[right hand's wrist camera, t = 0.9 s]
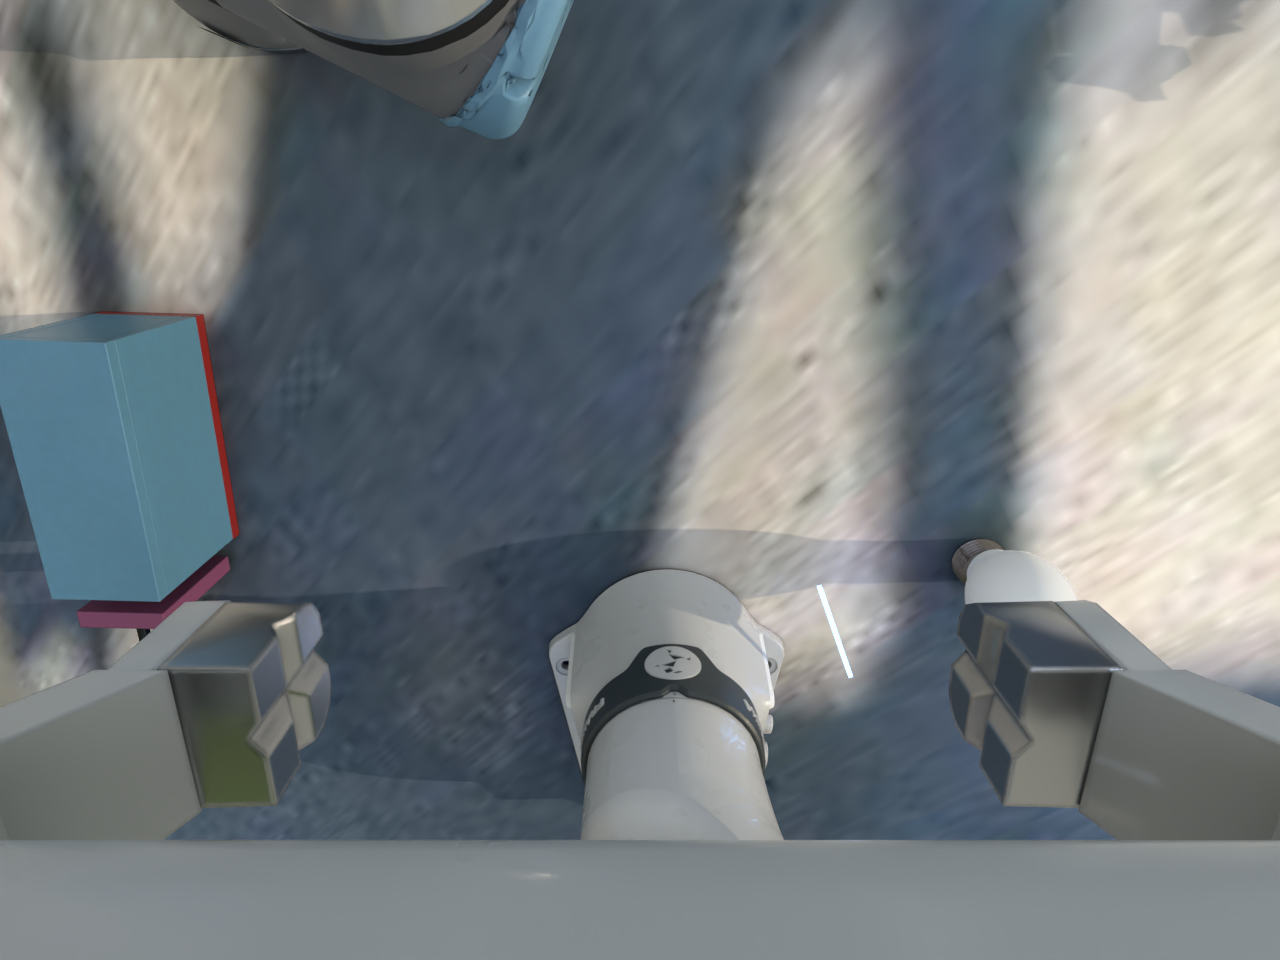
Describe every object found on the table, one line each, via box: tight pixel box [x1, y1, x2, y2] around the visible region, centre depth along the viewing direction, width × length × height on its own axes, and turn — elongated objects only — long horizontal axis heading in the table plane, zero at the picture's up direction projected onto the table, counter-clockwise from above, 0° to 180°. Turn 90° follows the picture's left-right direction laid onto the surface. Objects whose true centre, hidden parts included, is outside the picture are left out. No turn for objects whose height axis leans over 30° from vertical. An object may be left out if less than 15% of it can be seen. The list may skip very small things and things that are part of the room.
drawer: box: [77, 556, 230, 641], centre depth 54 cm, size 21×6×9 cm, turn 178°
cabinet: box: [0, 311, 239, 602], centre depth 52 cm, size 17×7×10 cm, turn 178°
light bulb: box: [952, 539, 1077, 604], centre depth 55 cm, size 7×7×11 cm
